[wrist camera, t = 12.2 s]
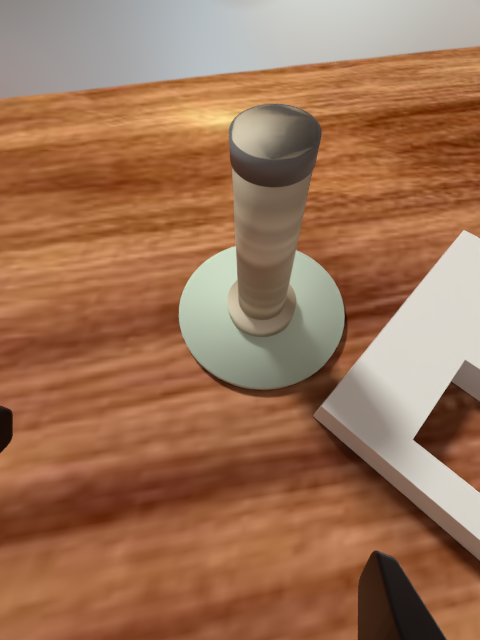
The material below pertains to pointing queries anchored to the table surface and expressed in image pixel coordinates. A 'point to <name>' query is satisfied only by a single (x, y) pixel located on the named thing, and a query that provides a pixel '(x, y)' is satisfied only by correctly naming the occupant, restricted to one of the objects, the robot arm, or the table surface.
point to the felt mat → (261, 352)
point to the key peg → (269, 211)
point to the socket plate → (418, 390)
